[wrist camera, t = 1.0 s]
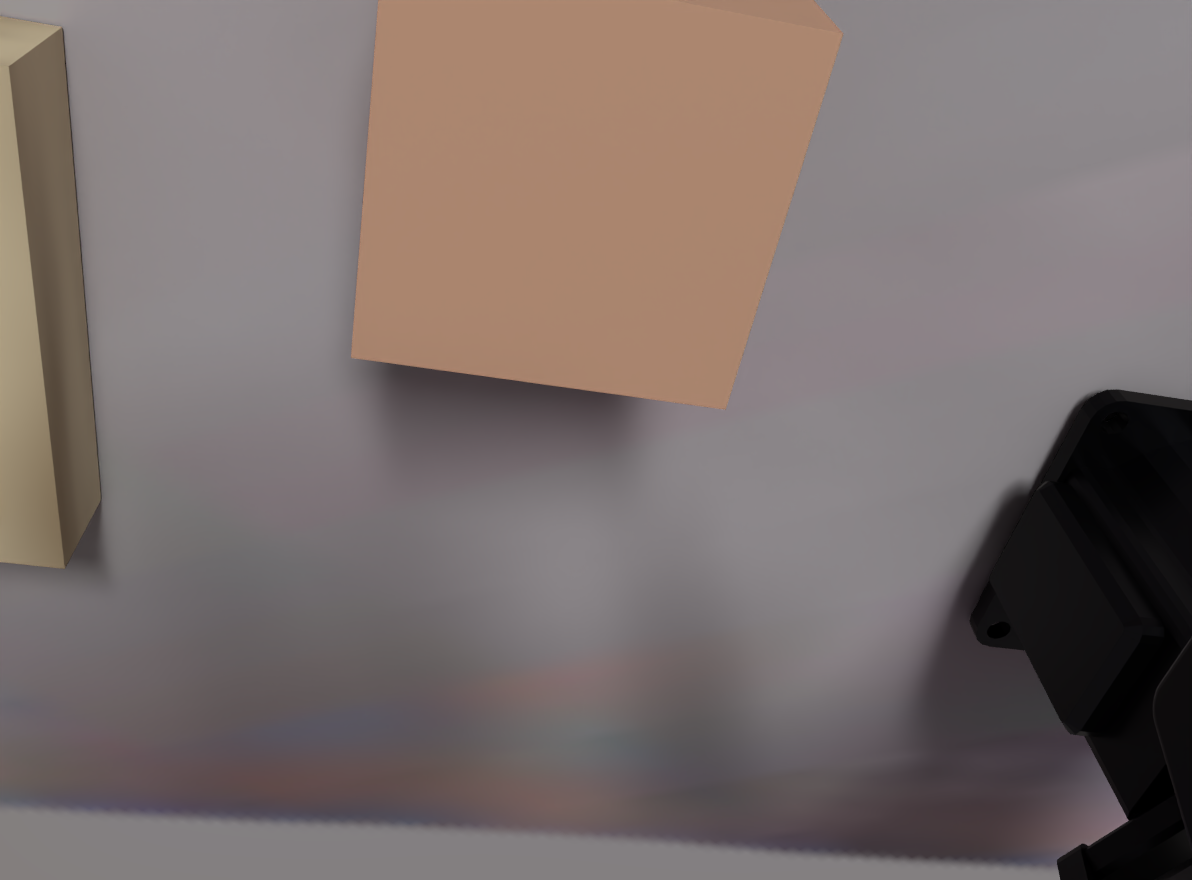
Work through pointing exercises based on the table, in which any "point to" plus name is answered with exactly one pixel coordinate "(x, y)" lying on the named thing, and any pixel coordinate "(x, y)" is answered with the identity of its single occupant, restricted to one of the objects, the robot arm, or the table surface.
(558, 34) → the cube
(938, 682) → the table surface
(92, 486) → the plinth
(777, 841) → the table surface
